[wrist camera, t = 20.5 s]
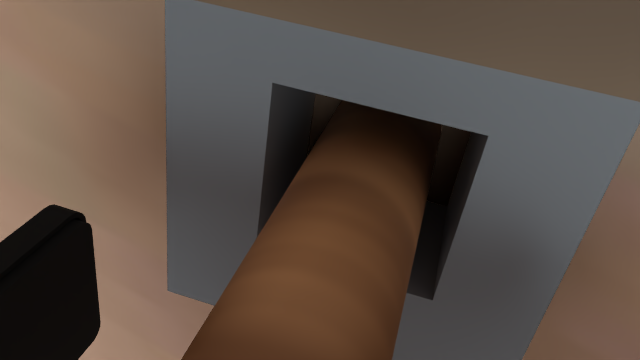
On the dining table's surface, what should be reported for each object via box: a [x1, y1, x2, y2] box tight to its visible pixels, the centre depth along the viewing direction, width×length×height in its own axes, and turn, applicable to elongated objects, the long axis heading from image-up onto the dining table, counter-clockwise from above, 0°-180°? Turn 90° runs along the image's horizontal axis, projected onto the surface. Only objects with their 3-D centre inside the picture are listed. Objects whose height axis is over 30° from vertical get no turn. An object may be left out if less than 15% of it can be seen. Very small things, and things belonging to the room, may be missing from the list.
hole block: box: [165, 0, 640, 360], centre depth 15 cm, size 10×10×4 cm
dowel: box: [181, 100, 442, 360], centre depth 12 cm, size 3×3×12 cm
